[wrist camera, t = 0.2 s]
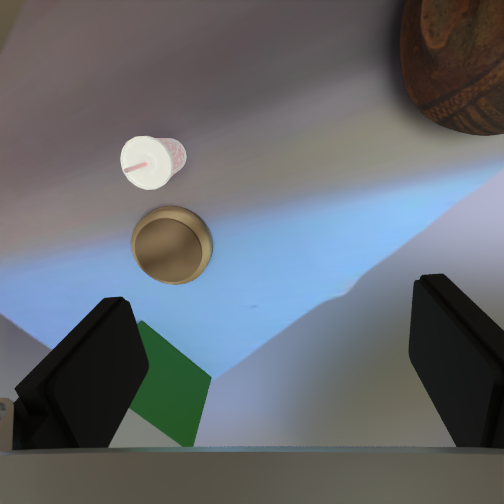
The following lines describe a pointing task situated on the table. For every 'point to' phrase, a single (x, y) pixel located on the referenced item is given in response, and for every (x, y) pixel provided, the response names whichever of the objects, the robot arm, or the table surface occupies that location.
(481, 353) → the robot arm
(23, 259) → the table surface
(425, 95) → the brown vase
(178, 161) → the beverage cup
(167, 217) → the pedestal
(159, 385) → the hardback book
